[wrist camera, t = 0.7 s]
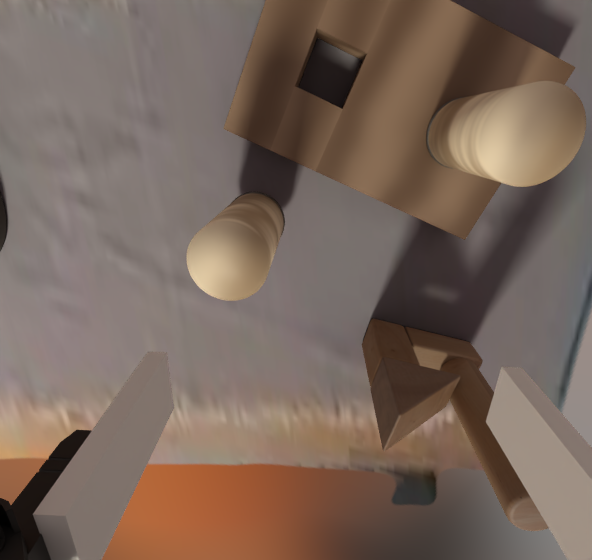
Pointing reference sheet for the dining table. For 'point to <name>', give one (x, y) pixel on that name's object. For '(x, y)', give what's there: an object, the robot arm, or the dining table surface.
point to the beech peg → (237, 247)
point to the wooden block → (440, 402)
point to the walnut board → (411, 104)
